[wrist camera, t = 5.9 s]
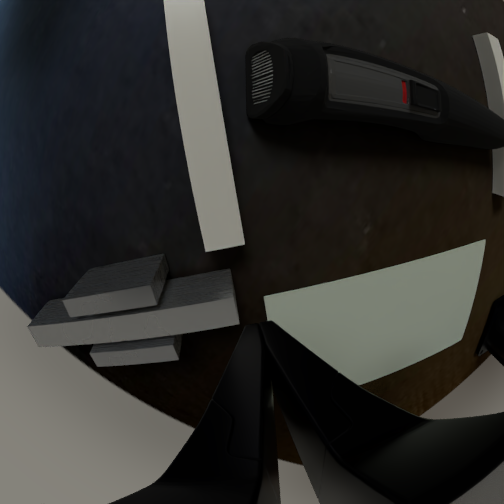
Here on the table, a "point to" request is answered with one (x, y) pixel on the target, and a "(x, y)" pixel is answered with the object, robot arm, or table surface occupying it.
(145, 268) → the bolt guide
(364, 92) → the electric trimmer
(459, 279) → the mat
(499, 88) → the pair of white rails
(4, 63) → the table surface
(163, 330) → the latch bolt
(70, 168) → the table surface
